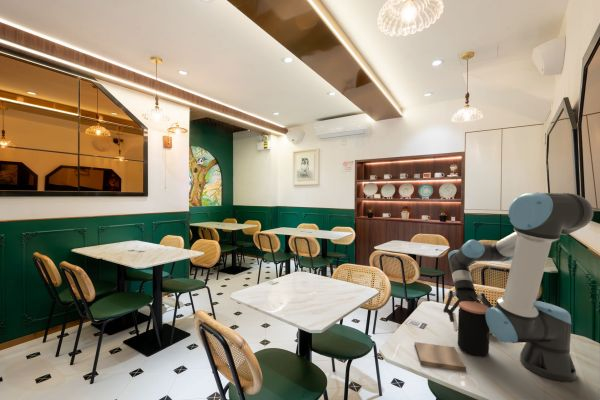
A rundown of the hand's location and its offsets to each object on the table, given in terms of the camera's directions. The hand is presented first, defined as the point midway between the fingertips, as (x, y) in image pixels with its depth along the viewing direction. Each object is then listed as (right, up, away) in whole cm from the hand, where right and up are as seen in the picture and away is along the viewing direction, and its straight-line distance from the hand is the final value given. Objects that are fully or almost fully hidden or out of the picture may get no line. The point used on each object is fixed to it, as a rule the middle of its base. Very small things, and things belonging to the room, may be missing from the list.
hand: (475, 332), depth 108 cm
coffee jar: (0, -8, +2) cm, 9 cm away
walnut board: (-16, -8, -3) cm, 18 cm away
